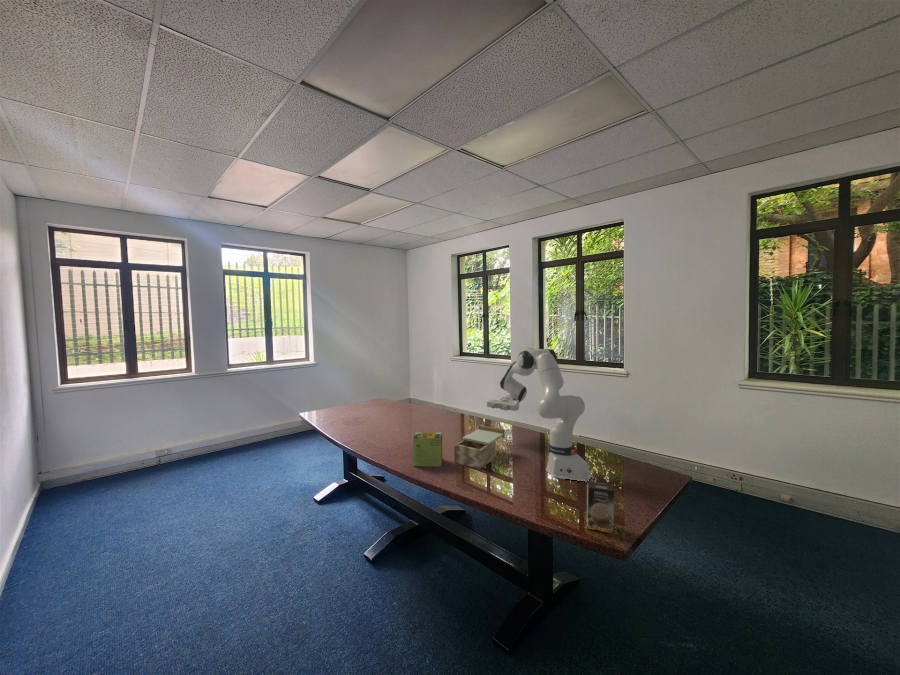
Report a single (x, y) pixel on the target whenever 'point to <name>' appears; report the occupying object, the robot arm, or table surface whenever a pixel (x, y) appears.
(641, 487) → the table surface
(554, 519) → the table surface
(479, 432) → the lid
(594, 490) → the coffee box
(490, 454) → the crate
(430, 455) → the protein box
